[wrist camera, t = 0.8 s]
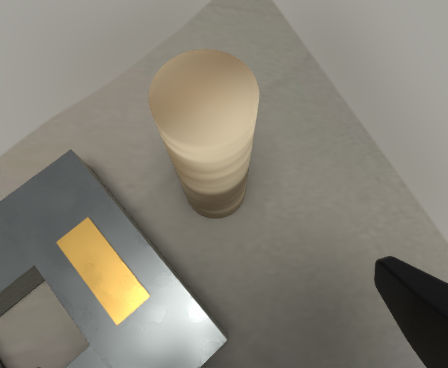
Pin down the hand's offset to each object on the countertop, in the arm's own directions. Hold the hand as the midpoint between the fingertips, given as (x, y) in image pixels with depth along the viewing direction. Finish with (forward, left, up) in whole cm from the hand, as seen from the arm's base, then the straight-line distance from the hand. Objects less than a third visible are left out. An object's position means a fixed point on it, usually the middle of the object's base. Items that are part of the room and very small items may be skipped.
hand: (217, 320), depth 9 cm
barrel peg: (+7, -5, -15) cm, 17 cm away
